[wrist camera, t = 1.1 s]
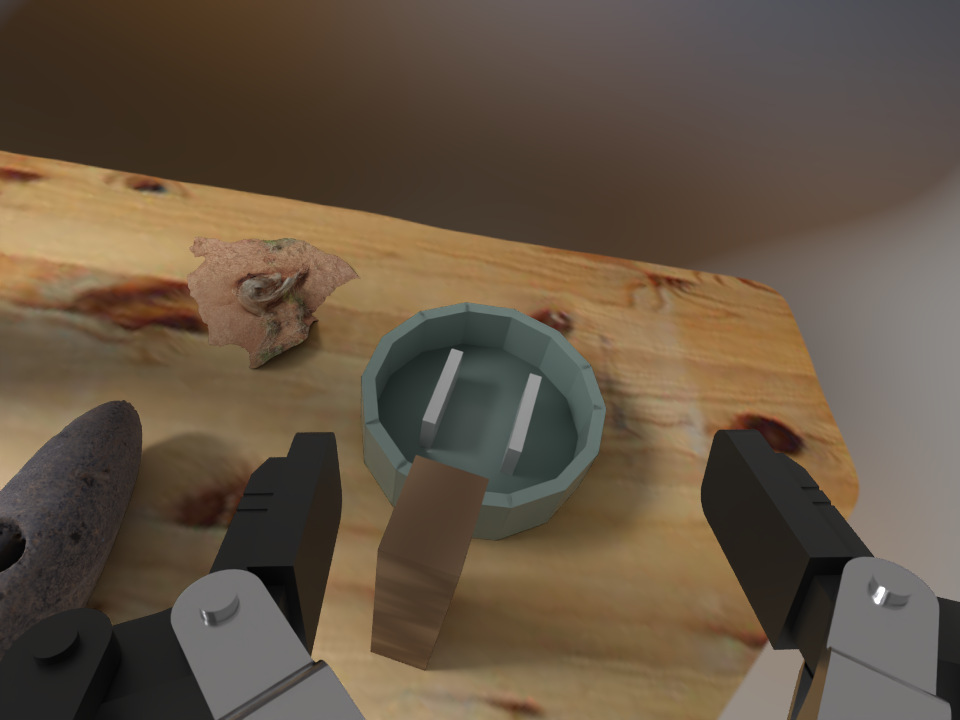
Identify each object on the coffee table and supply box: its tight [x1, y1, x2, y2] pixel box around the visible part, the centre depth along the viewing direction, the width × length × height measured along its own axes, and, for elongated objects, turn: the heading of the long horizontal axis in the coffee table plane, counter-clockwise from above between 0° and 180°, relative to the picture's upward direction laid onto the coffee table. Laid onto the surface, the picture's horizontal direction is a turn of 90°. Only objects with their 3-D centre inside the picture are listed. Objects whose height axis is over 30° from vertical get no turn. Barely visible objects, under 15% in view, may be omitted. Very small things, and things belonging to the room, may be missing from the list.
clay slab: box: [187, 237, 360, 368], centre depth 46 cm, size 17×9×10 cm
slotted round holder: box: [361, 302, 606, 541], centre depth 40 cm, size 15×15×4 cm
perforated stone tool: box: [0, 400, 142, 662], centre depth 30 cm, size 15×5×7 cm, turn 172°
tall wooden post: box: [371, 455, 489, 670], centre depth 28 cm, size 3×4×14 cm
